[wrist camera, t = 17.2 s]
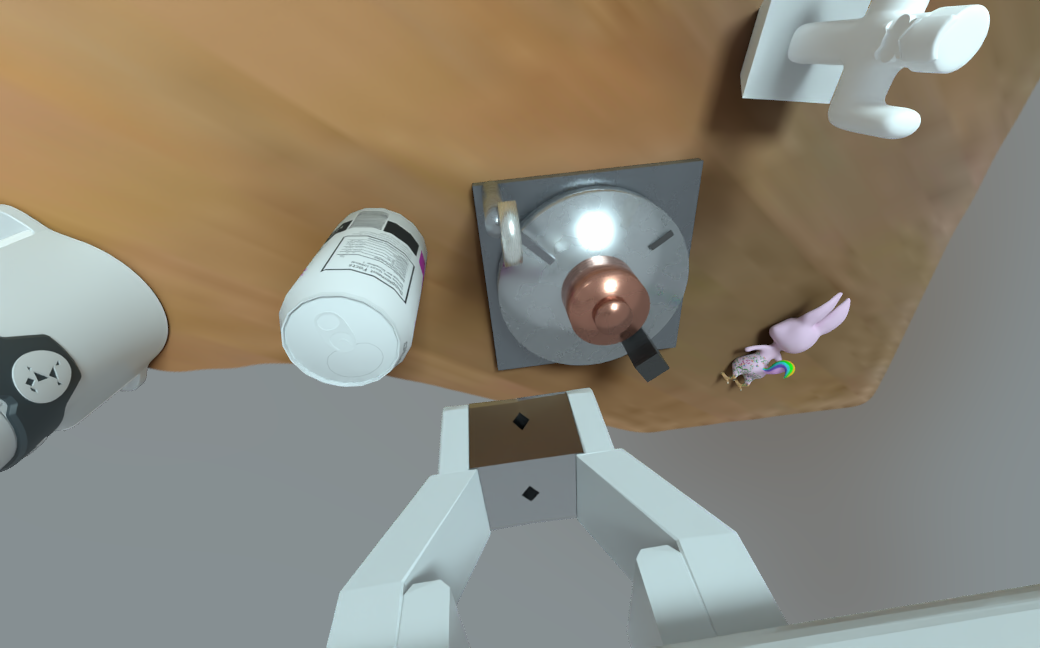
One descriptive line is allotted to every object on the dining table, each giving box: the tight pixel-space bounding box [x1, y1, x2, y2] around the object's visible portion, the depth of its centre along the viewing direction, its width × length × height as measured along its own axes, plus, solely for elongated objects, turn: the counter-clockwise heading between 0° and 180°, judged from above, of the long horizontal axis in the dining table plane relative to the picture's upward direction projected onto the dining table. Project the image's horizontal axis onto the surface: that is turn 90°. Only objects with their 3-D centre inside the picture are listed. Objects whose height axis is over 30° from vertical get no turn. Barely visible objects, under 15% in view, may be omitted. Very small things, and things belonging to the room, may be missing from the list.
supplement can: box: [279, 208, 427, 387], centre depth 32 cm, size 8×8×15 cm
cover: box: [561, 256, 650, 345], centre depth 38 cm, size 7×7×5 cm
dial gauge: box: [481, 181, 555, 267], centre depth 32 cm, size 5×6×11 cm
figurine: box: [740, 0, 990, 139], centre depth 27 cm, size 7×9×15 cm
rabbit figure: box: [720, 293, 850, 391], centre depth 47 cm, size 6×6×15 cm
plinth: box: [472, 158, 703, 370], centre depth 42 cm, size 20×20×1 cm
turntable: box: [497, 186, 689, 382], centre depth 38 cm, size 18×18×7 cm
